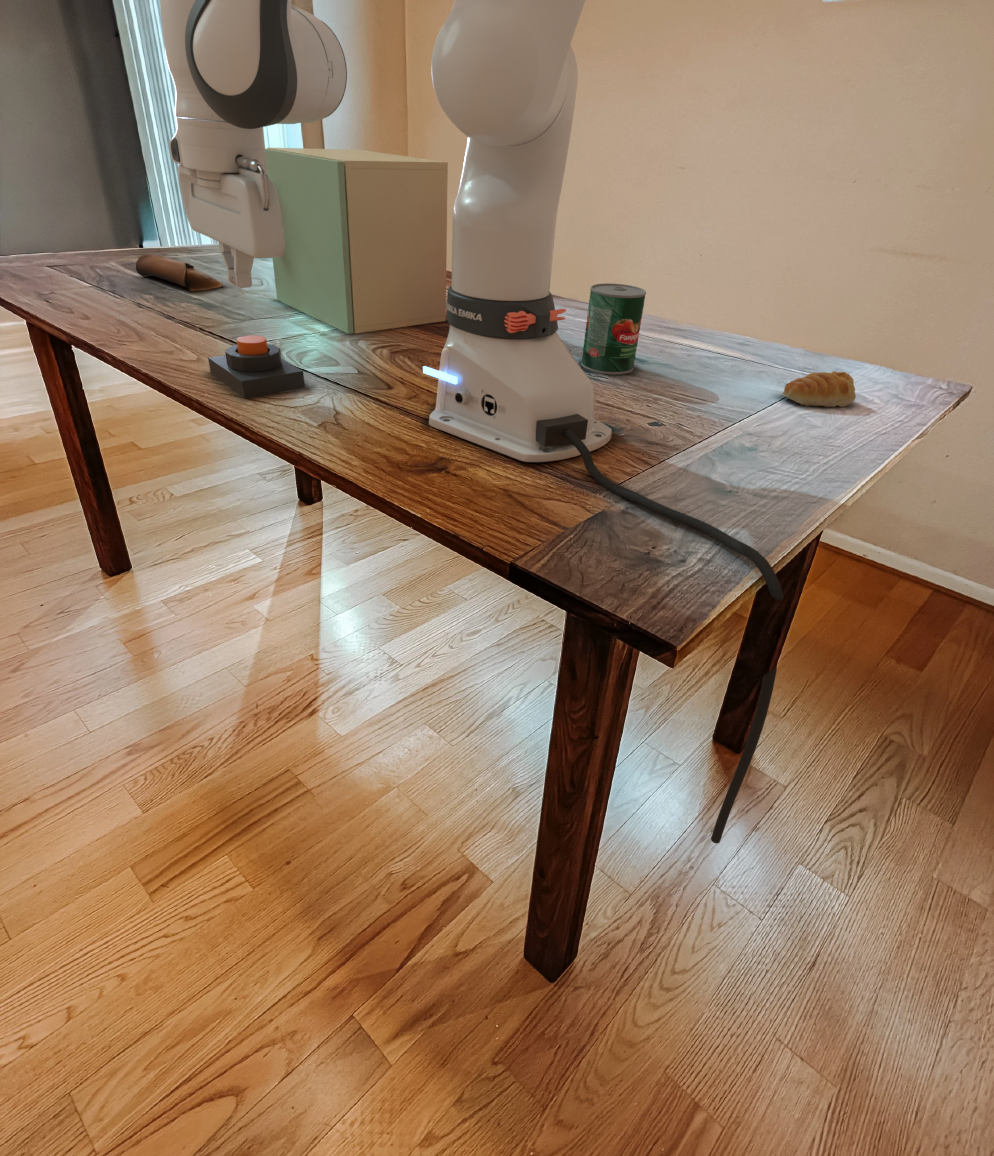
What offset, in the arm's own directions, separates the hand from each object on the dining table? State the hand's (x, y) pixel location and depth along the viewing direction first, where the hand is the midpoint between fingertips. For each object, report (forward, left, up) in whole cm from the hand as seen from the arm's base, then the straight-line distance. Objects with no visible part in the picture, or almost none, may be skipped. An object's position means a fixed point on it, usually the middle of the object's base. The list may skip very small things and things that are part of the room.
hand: (240, 285), depth 84 cm
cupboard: (+27, -32, -12) cm, 43 cm away
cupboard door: (+27, -19, -12) cm, 35 cm away
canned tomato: (-19, -47, -12) cm, 52 cm away
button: (0, 0, -8) cm, 8 cm away
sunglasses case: (+62, -12, -12) cm, 64 cm away
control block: (0, 0, -12) cm, 12 cm away
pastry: (-45, -62, -12) cm, 78 cm away
